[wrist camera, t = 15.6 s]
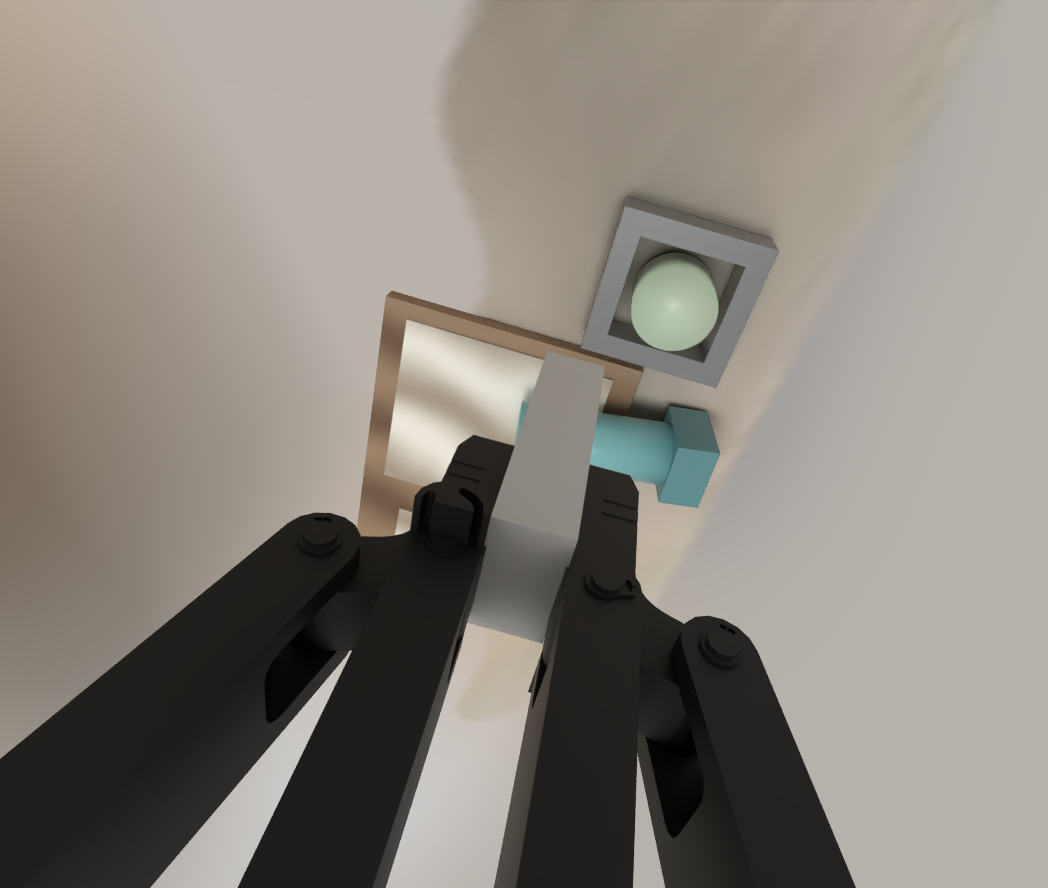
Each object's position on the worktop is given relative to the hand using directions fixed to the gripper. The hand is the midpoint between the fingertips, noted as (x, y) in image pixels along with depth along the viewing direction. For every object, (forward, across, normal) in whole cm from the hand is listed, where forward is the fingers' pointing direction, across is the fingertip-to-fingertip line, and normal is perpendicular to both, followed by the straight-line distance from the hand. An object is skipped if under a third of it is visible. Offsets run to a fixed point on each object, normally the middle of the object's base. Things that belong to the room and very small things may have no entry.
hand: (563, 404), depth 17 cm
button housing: (+22, +4, -4) cm, 23 cm away
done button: (+21, +5, -4) cm, 22 cm away
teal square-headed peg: (+18, -2, -13) cm, 22 cm away
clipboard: (+22, -4, -18) cm, 29 cm away
